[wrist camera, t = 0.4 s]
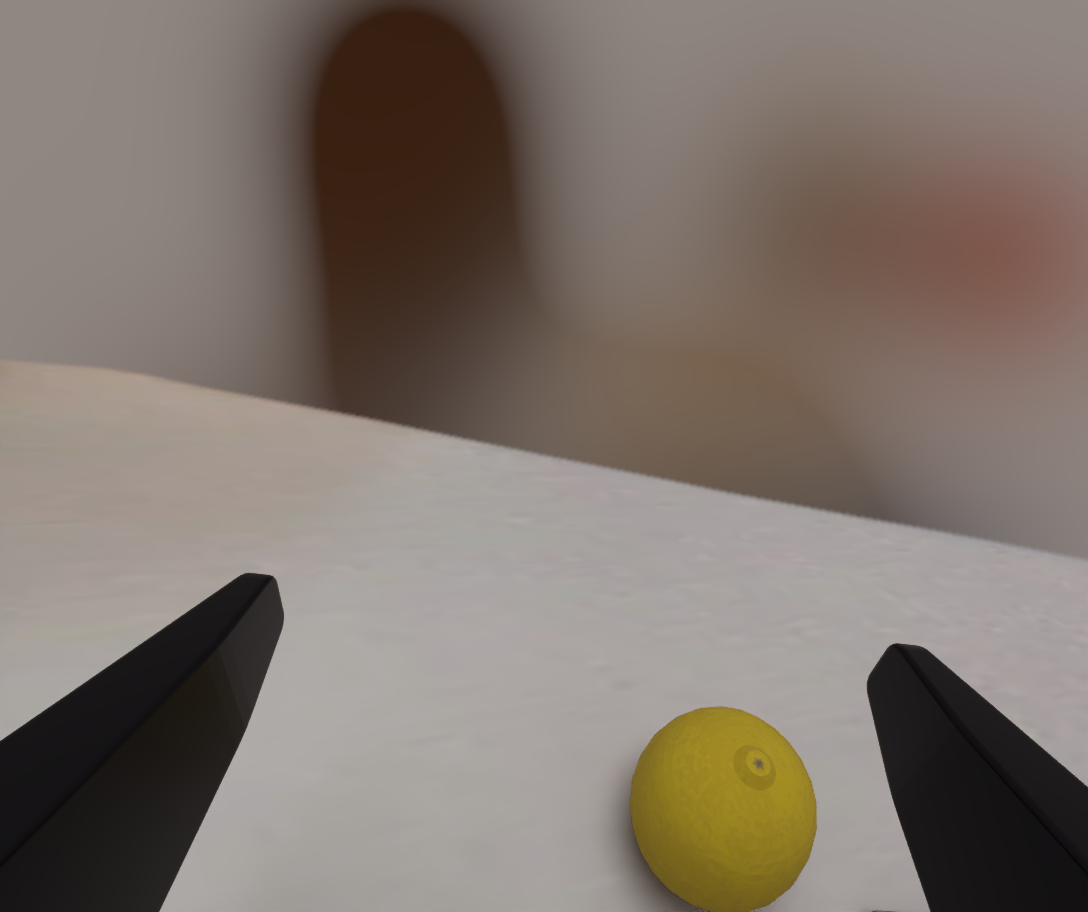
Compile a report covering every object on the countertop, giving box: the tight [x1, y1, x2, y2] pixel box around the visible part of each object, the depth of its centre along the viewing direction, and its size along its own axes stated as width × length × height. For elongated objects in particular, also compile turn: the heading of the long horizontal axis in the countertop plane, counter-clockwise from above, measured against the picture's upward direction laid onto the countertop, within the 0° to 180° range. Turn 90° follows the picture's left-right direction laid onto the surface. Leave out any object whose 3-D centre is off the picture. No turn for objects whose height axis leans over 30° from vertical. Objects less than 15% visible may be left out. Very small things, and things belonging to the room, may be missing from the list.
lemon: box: [630, 707, 817, 912], centre depth 19 cm, size 6×6×8 cm
